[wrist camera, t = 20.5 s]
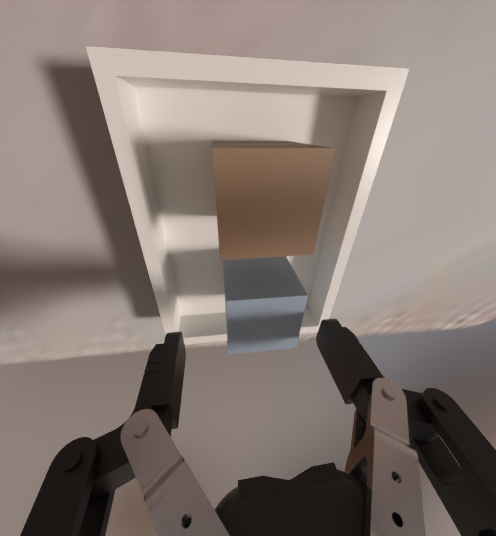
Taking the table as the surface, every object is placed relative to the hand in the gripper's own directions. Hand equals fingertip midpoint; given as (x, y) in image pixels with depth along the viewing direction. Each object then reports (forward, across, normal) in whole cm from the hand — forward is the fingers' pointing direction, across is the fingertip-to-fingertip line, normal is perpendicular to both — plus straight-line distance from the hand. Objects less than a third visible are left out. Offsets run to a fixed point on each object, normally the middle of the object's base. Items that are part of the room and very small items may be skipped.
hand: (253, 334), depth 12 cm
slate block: (+6, -1, 0) cm, 6 cm away
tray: (+8, -1, -4) cm, 8 cm away
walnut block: (+6, 0, -7) cm, 10 cm away
